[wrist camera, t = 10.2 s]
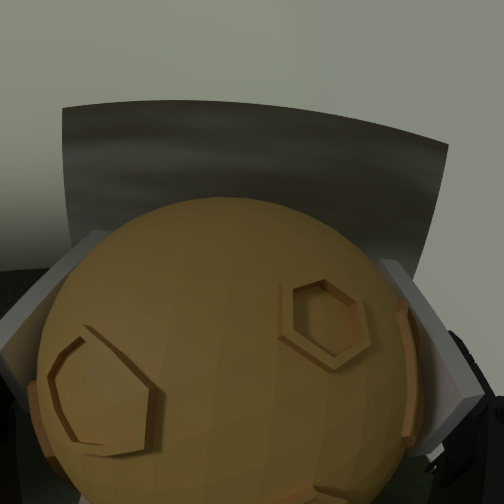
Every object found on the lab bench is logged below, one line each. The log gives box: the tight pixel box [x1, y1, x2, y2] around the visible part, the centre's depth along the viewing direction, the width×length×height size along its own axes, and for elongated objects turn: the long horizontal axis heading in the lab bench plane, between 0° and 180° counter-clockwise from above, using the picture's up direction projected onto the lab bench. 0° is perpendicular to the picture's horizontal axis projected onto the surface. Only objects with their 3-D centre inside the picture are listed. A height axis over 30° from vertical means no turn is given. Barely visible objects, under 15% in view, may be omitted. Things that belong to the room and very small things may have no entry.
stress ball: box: [27, 197, 424, 504], centre depth 8 cm, size 10×10×10 cm
